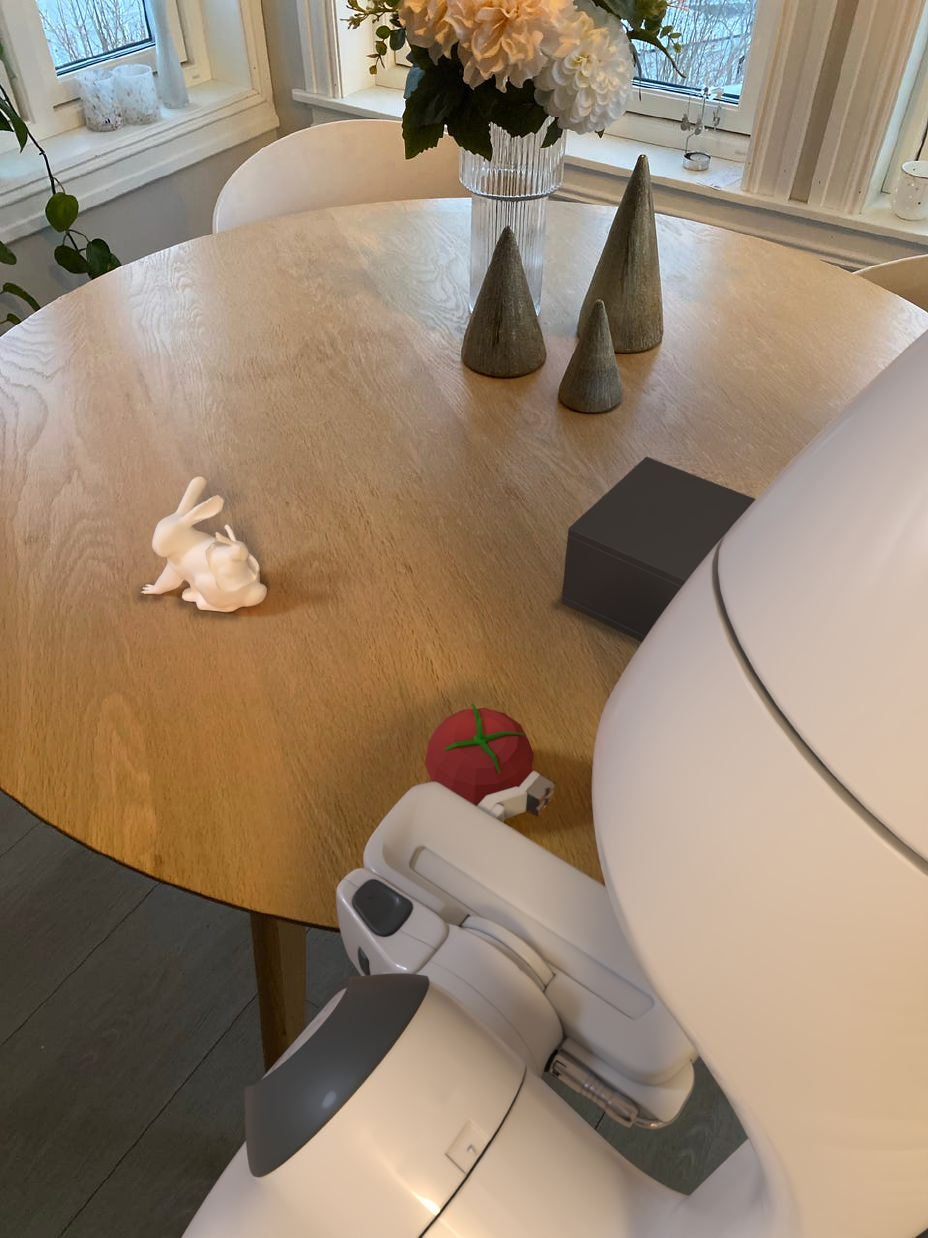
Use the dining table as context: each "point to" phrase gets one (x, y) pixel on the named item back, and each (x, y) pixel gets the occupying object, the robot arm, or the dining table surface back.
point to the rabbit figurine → (205, 558)
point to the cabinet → (644, 544)
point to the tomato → (479, 753)
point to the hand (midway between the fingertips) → (613, 823)
